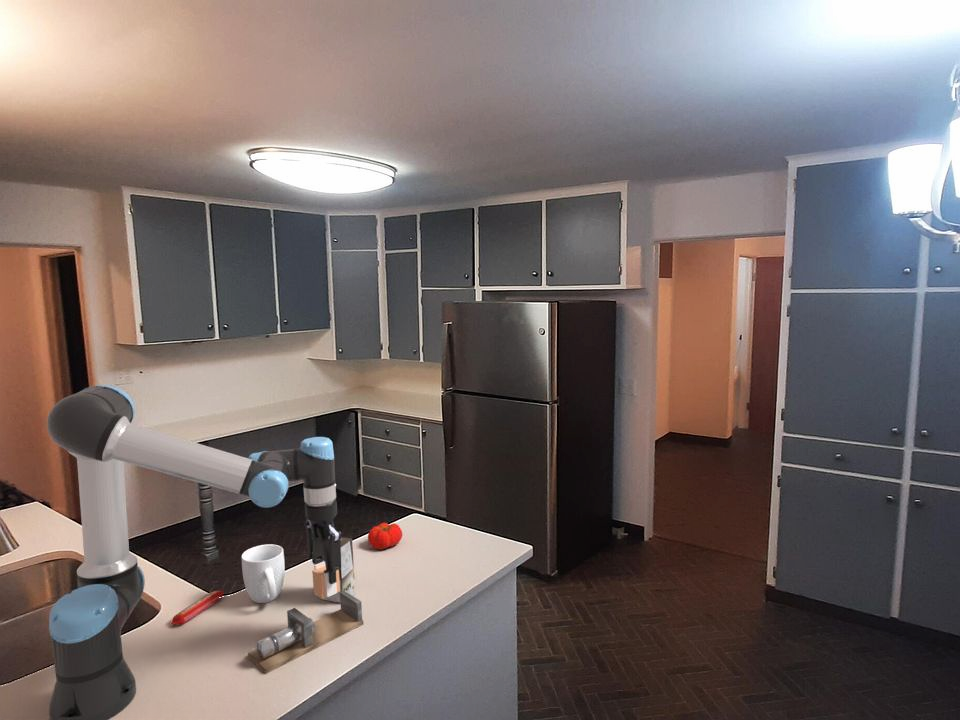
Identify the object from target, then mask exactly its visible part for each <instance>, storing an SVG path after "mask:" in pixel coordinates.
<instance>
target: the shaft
mask: <svg viewBox="0 0 960 720" xmlns="http://www.w3.org/2000/svg"><path fill="white" fill-rule="evenodd" d="M308 618H309V619H311V621H312V635H314V634H315V631H316V629H315V624H314V620H313V619H312V617H308ZM301 640H302V637H301V626H300V625H299V624H298V623H297V624H295V625H292V626H290V627H288V626H287V627H286V628H284V629H282V630H280V631H277V632H275V633H273V634H270V635H268V636H266V637H264V638H262V639H260V640H258V641H257V642H256V643H255V649H257V653H258V655H259V657H260V658H261V659H264V658H266V657H268V656H270V655H272V654H275V653H277V652H279V651H281V650H283V649H285V648H287V647H289V646H291V645H293V644H295V643H297V642H299V641H301Z"/></svg>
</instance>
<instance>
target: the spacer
mask: <svg viewBox="0 0 960 720" xmlns="http://www.w3.org/2000/svg"><path fill="white" fill-rule="evenodd" d="M324 570H326V565H325V566H323V567H320V568H318V569H313V570H312V571H311V573H312V585H313V586H312V587H313V594H314V595H316V597H317V596H319V597H320V598H322V599H321V600H324V598H326V589H325V574H324ZM336 579H337V581H336V583H337V592H339V591H340V580H339V570H336Z"/></svg>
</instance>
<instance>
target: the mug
mask: <svg viewBox="0 0 960 720" xmlns="http://www.w3.org/2000/svg"><path fill="white" fill-rule="evenodd" d="M285 567H286V566H285V553H284V548H283V547H282V546H280V545H277V544H272V543H271V544H270V543H269V544H267V543H266V544H261V545H256V546H253V547H251V548H248V549H247V550H245V551H244V552H243V553H242V554H241V568H242V577H243V578H242V579H243V582H244V588H245V589H246V592H247V595H248V596H249V597H250V598H251V600H252V601H253V602H255V603H256V604H257V603H258V604H266V603H270V602H273V601H274V600H276V599H277V598H278V597H279V595H280V593H281V591H282V590H283V589H282V588H283V587H284V582H285V581H284V580H285V569H286V568H285Z"/></svg>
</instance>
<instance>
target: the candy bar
mask: <svg viewBox="0 0 960 720" xmlns="http://www.w3.org/2000/svg"><path fill="white" fill-rule="evenodd" d="M224 593H225V591H224V590H223V591H221V590H214V591H211V592H209V593H207V594H206V595H204V596H203V597H201V598H200V599H198V600H196V601H195V602H193V603H192V604H190V605H189V606H187V607H186V608H184V609H182V610H181V611H180V612H178V613H176V614H175V615H173V618H172V622H171V623H170V626H171V625H174V626H177V625H178V626H179V625H183V624H186V623H187V622H189V621H191V620H192V619H193V618H196V617H197V616H198V615H199V614H201V613H202V612H204V611H206V610H207V609H208V608H210V607H211V606H213V605H214V604H216V603H217V602H219V601H220V600H221V599H222V598H223V595H224ZM219 597H222V598H219Z"/></svg>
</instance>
